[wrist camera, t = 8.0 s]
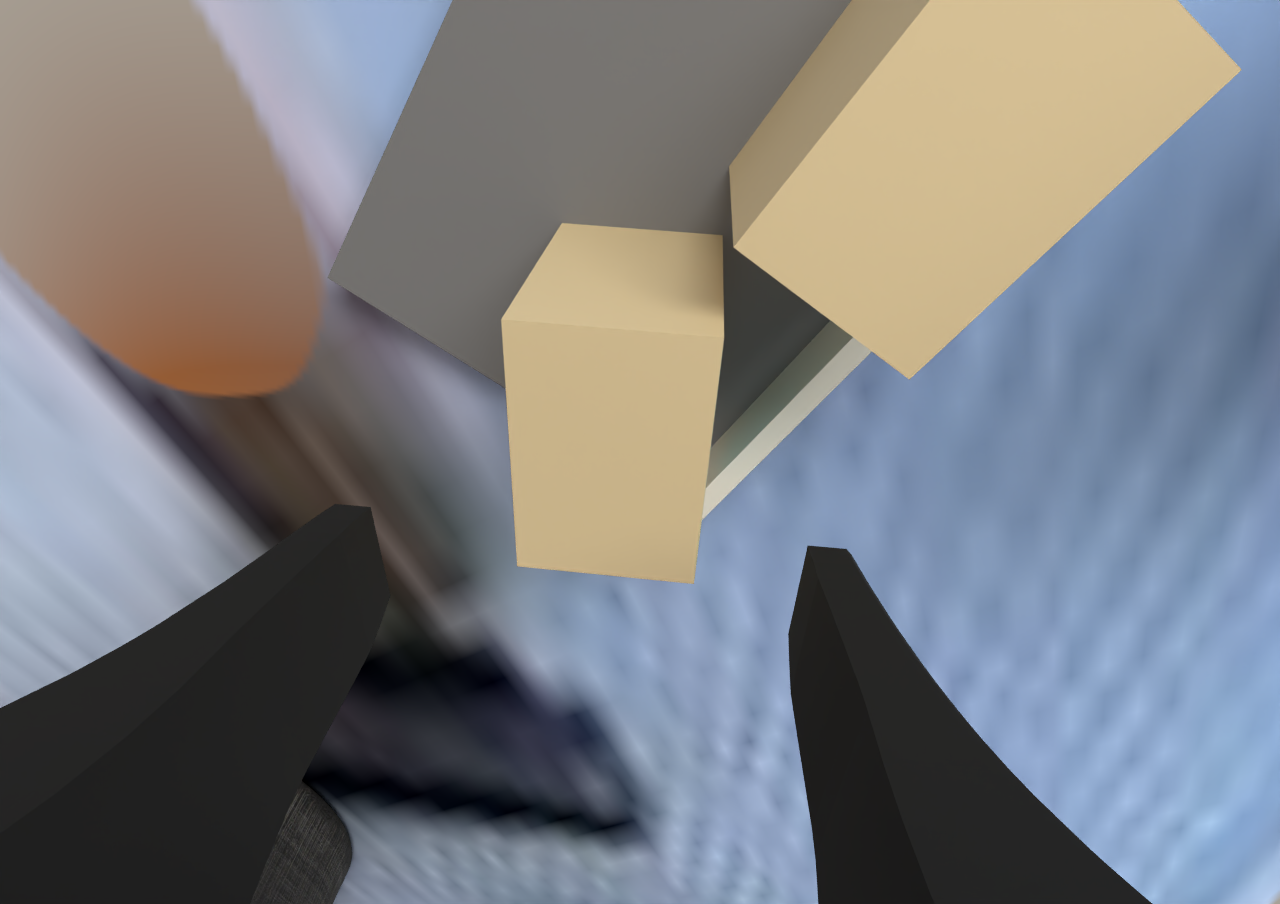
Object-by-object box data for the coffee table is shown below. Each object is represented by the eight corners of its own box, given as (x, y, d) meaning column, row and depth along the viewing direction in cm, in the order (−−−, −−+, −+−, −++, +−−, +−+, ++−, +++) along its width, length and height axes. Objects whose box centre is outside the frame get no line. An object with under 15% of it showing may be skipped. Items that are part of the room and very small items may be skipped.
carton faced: (856, 266, 18) (910, 380, 13) (729, 166, 17) (733, 247, 12) (1065, 38, 15) (1242, 71, 10) (926, -101, 14) (1044, -144, 9)
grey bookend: (1095, 45, 16) (1166, 58, 13) (687, 478, 23) (683, 538, 21) (653, -401, 13) (637, -493, 10) (346, 262, 20) (294, 303, 18)
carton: (700, 439, 21) (694, 583, 16) (564, 427, 21) (517, 566, 16) (723, 235, 18) (724, 337, 13) (562, 223, 18) (501, 319, 13)
